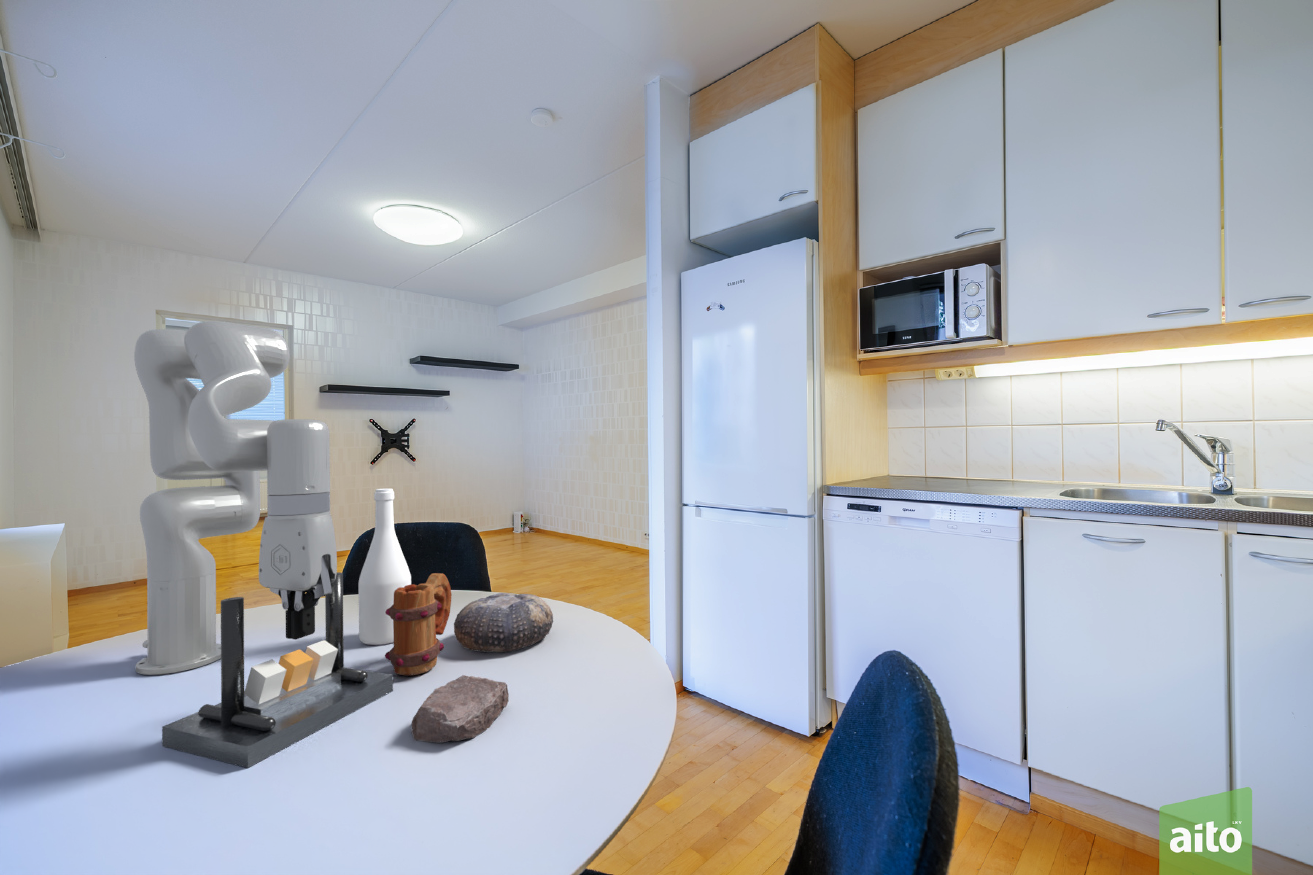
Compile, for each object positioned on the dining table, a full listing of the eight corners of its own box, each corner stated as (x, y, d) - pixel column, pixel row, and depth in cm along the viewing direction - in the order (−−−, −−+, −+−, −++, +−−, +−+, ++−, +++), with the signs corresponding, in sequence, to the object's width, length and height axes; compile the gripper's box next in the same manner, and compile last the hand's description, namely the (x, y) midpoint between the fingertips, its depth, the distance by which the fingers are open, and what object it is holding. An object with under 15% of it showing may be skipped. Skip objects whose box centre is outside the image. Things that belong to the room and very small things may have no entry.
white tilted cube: (243, 693, 75) (251, 666, 74) (264, 684, 77) (272, 659, 77) (258, 704, 74) (266, 677, 73) (279, 695, 76) (286, 669, 76)
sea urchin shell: (545, 654, 100) (534, 599, 100) (443, 674, 100) (432, 620, 100) (563, 620, 119) (554, 574, 119) (477, 637, 119) (468, 591, 119)
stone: (464, 751, 69) (463, 713, 69) (404, 742, 72) (404, 706, 72) (514, 709, 81) (514, 676, 81) (461, 702, 83) (461, 670, 83)
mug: (419, 683, 89) (418, 590, 90) (374, 680, 91) (374, 588, 91) (467, 650, 104) (466, 570, 104) (428, 648, 105) (427, 569, 106)
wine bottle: (381, 629, 118) (379, 487, 118) (421, 631, 116) (419, 487, 116) (347, 645, 108) (346, 491, 109) (390, 647, 106) (389, 490, 107)
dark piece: (162, 746, 72) (161, 601, 72) (317, 678, 92) (316, 566, 93) (247, 767, 66) (246, 611, 67) (392, 690, 87) (391, 572, 87)
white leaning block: (300, 670, 82) (307, 646, 82) (317, 663, 85) (324, 639, 84) (313, 680, 81) (321, 655, 81) (330, 672, 84) (338, 649, 83)
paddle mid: (273, 681, 78) (280, 656, 78) (292, 673, 81) (299, 649, 81) (287, 691, 77) (295, 666, 77) (306, 683, 80) (313, 658, 80)
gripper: (235, 508, 78) (236, 639, 78) (313, 510, 73) (314, 650, 73) (287, 502, 85) (288, 623, 85) (361, 504, 80) (362, 632, 80)
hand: (300, 635), depth 79 cm, fingers closed
